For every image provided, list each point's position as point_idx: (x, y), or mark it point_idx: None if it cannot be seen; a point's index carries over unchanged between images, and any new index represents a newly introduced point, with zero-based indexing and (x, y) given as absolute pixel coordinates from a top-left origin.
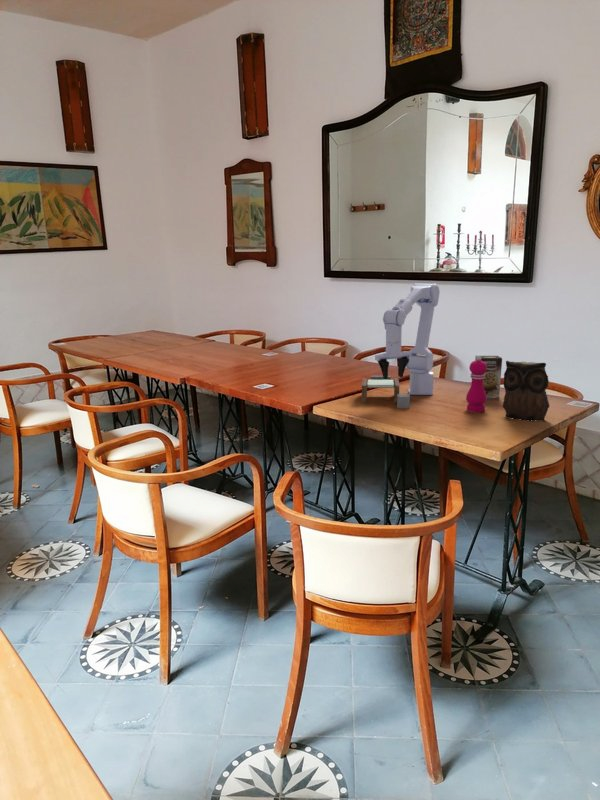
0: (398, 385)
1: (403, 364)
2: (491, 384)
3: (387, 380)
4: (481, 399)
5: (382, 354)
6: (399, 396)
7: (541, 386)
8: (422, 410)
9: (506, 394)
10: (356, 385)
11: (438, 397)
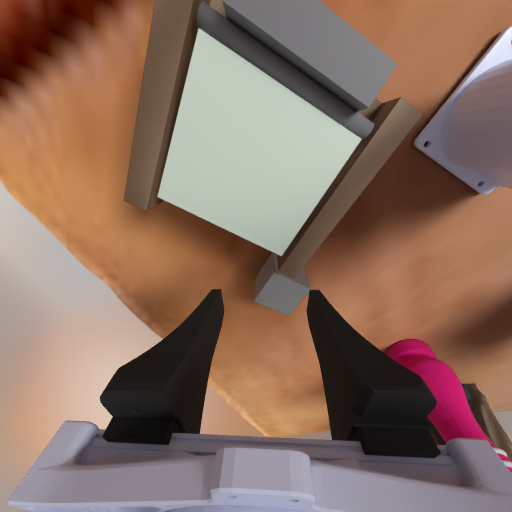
0: (295, 271)
1: (327, 402)
2: None
3: (314, 142)
4: None
5: (121, 492)
6: (261, 301)
7: None
8: (302, 314)
9: (437, 443)
10: None
11: (461, 229)
